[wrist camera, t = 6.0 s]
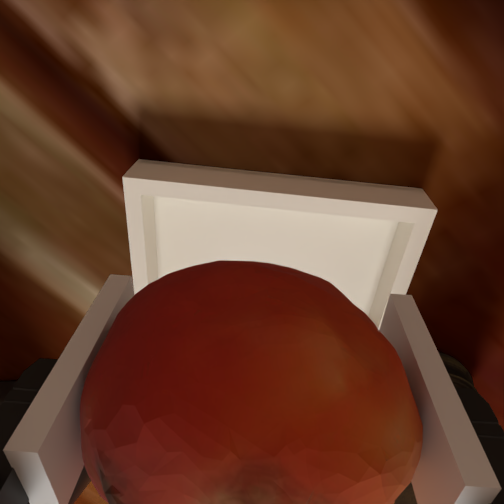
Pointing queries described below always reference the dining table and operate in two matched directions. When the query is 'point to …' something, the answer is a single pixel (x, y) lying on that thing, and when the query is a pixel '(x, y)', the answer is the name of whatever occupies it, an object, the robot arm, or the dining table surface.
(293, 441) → the tomato
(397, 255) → the dish
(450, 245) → the dining table surface
